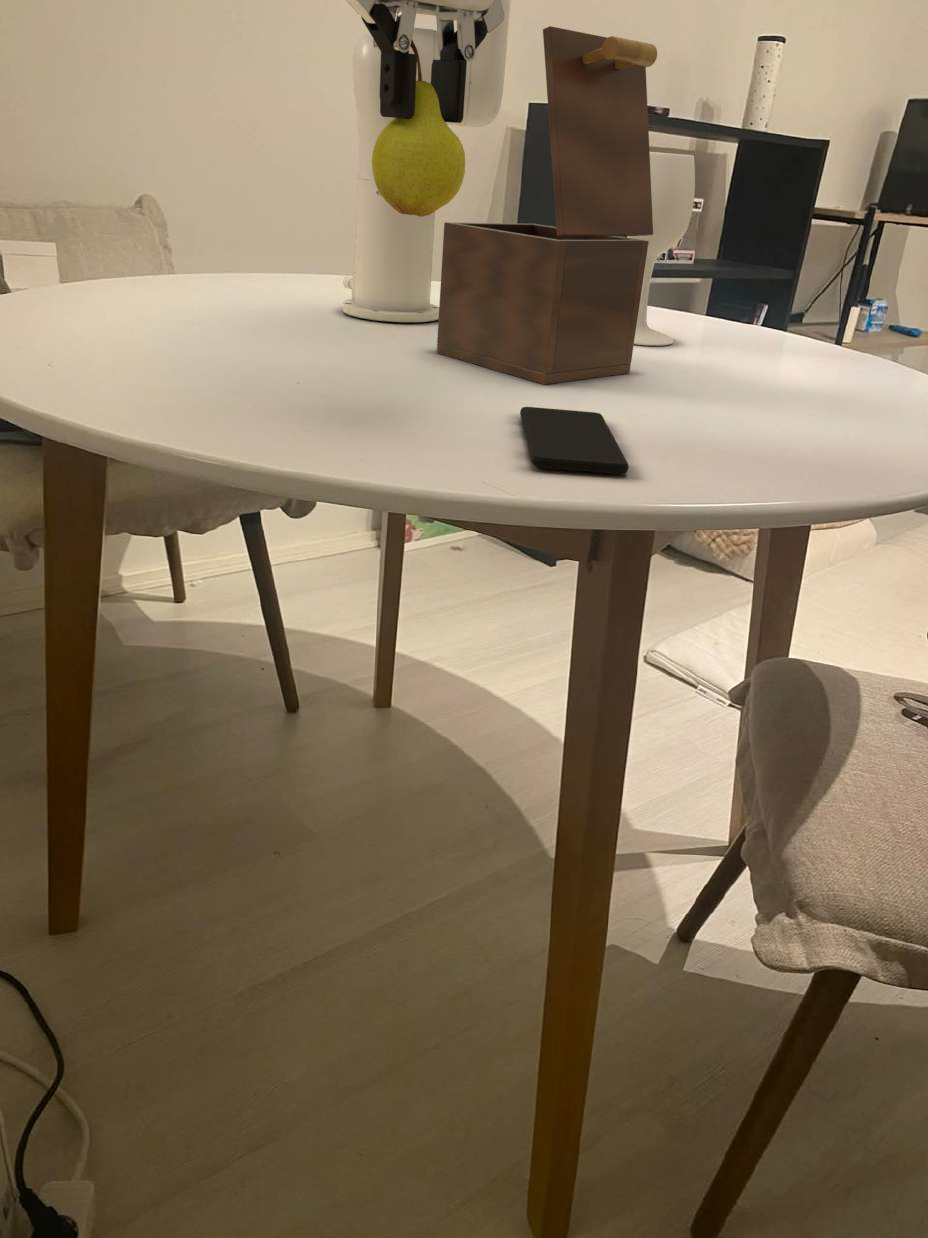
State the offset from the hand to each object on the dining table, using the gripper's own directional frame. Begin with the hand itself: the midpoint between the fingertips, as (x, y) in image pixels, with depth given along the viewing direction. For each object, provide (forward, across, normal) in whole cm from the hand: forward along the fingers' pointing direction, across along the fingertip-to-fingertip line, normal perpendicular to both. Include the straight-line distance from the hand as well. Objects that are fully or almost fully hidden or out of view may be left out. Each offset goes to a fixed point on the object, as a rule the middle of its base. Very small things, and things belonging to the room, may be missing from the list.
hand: (421, 116), depth 71 cm
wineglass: (+23, -49, -15) cm, 56 cm away
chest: (+22, -25, -10) cm, 35 cm away
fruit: (+7, 0, 0) cm, 7 cm away
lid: (+1, -25, -5) cm, 26 cm away
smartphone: (+22, -5, +14) cm, 26 cm away
